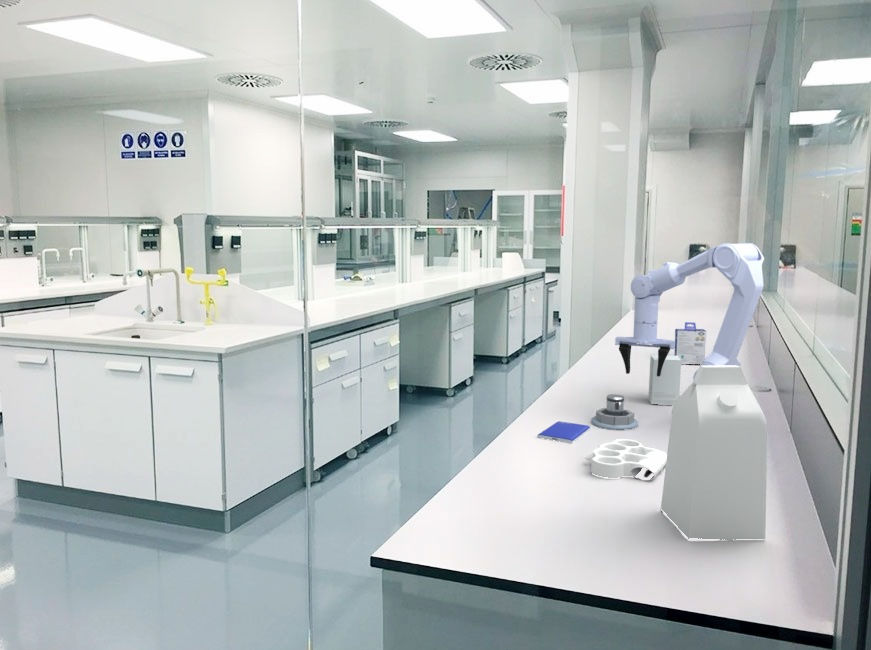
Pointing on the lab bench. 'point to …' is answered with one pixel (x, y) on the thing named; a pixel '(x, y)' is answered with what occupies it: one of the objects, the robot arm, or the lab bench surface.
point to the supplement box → (664, 381)
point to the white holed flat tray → (625, 459)
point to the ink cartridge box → (690, 344)
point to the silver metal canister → (615, 405)
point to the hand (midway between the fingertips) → (643, 374)
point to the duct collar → (614, 420)
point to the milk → (717, 458)
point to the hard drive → (564, 432)
